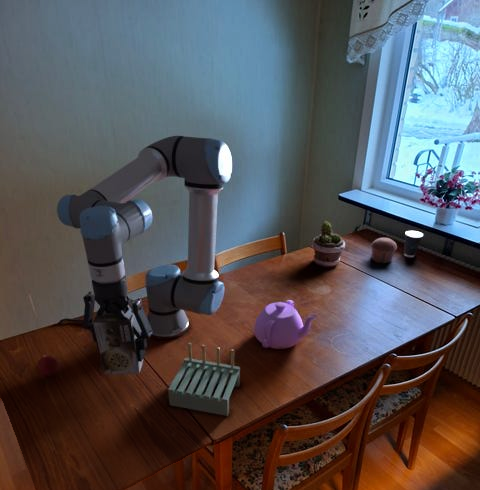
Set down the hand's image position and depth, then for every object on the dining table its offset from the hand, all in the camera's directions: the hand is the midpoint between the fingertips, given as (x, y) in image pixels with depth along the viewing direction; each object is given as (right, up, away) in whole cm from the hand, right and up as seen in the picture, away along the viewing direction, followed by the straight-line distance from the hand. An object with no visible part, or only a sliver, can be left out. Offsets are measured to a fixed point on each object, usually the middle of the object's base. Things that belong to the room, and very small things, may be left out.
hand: (122, 354), depth 113 cm
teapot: (+45, +2, +42) cm, 62 cm away
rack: (+20, -13, +19) cm, 30 cm away
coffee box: (0, -3, +2) cm, 4 cm away
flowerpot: (+70, +35, +94) cm, 122 cm away
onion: (-29, -8, +25) cm, 39 cm away
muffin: (+97, +37, +98) cm, 143 cm away
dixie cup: (+111, +40, +102) cm, 156 cm away
